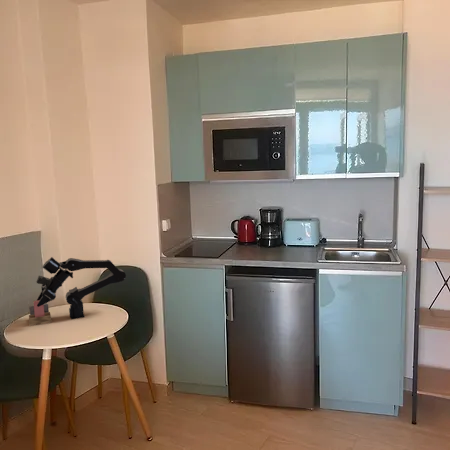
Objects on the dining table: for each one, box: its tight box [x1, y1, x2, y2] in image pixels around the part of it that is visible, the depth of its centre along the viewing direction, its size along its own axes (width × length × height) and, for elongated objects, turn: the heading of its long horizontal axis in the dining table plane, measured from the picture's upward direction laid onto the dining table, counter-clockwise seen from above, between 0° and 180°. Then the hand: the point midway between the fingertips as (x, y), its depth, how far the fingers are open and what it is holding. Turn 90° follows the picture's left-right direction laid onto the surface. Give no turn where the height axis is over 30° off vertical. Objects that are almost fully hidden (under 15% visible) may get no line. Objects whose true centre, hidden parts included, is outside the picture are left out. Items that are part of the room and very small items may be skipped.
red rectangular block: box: [33, 299, 45, 318], centre depth 234 cm, size 4×4×10 cm
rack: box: [28, 303, 53, 327], centre depth 237 cm, size 10×12×7 cm
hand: (37, 303), depth 234 cm, fingers open, 9 cm apart
